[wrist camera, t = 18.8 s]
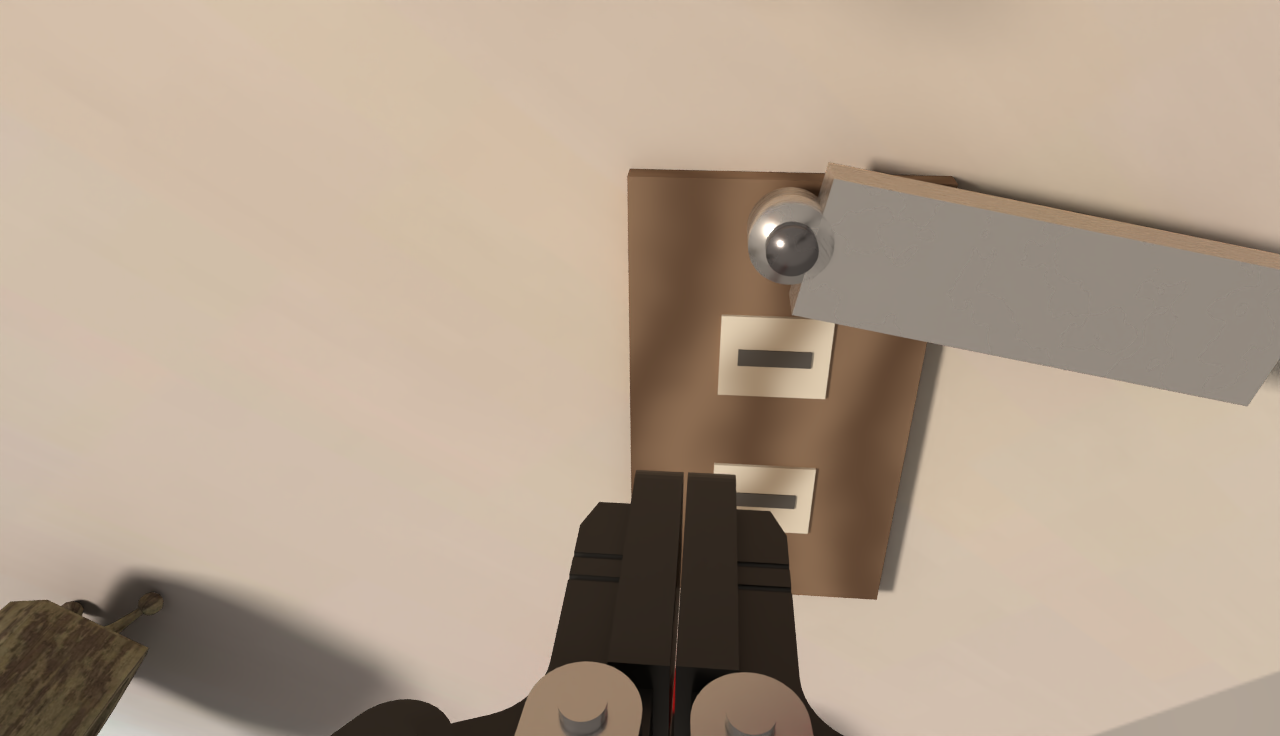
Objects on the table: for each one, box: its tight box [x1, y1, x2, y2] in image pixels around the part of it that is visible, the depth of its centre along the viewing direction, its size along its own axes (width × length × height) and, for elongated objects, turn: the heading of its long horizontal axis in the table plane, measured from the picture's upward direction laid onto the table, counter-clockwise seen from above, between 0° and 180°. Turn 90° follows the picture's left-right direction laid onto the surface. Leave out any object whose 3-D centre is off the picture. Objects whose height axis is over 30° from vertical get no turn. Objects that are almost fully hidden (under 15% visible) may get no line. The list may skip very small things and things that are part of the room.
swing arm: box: [747, 162, 1280, 406], centre depth 40 cm, size 7×26×3 cm, turn 80°
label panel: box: [627, 169, 958, 600], centre depth 49 cm, size 16×28×2 cm, turn 0°
